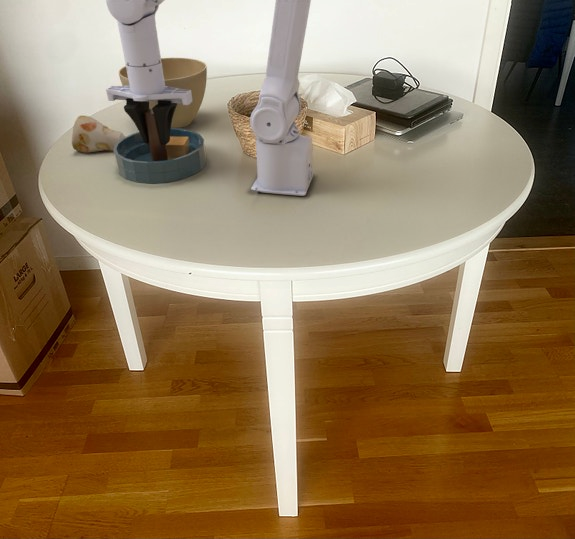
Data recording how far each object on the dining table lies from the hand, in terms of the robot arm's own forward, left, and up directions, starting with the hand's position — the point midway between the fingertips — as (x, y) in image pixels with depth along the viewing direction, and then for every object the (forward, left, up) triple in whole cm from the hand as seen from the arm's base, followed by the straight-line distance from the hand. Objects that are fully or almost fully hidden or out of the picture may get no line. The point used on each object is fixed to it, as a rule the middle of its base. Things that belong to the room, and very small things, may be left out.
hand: (157, 142), depth 94 cm
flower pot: (+8, -24, -6) cm, 26 cm away
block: (-1, -4, -5) cm, 7 cm away
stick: (0, 0, -3) cm, 3 cm away
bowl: (+1, -3, -6) cm, 7 cm away
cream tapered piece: (+16, -8, -6) cm, 19 cm away
